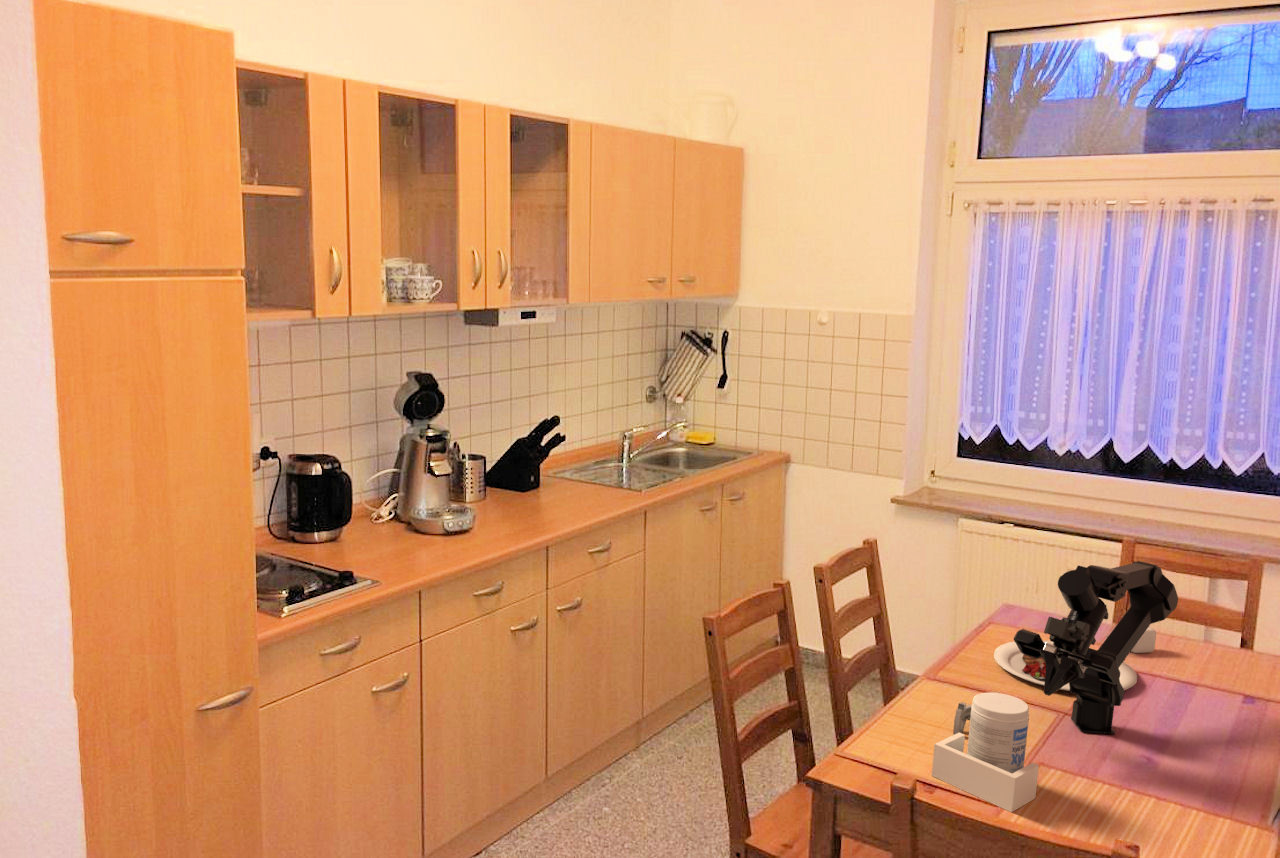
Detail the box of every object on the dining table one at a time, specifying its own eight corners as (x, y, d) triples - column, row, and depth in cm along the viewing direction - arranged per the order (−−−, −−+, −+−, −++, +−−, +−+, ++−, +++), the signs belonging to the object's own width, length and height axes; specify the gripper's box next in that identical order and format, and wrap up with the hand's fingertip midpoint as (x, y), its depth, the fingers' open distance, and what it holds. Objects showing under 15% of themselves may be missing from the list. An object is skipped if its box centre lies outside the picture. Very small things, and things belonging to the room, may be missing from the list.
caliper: (958, 738, 203) (961, 706, 202) (952, 736, 204) (955, 704, 203) (997, 705, 219) (1000, 675, 218) (992, 703, 220) (995, 674, 219)
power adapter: (1115, 656, 249) (1118, 632, 248) (1102, 648, 254) (1105, 625, 253) (1156, 654, 252) (1159, 630, 251) (1142, 646, 256) (1145, 623, 255)
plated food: (1145, 667, 243) (1147, 653, 243) (1124, 712, 218) (1126, 696, 218) (1011, 638, 259) (1012, 625, 259) (977, 676, 234) (979, 661, 234)
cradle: (956, 763, 192) (959, 732, 191) (1035, 798, 181) (1038, 765, 180) (931, 775, 187) (934, 743, 186) (1011, 812, 176) (1015, 778, 175)
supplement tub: (1021, 800, 180) (1030, 718, 178) (963, 789, 183) (971, 708, 181) (1021, 774, 189) (1029, 696, 187) (965, 764, 192) (973, 687, 190)
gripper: (1023, 587, 202) (986, 655, 197) (1120, 615, 188) (1083, 689, 183) (1040, 619, 209) (1005, 685, 203) (1135, 648, 195) (1100, 720, 190)
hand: (1046, 694), depth 195 cm, fingers closed
